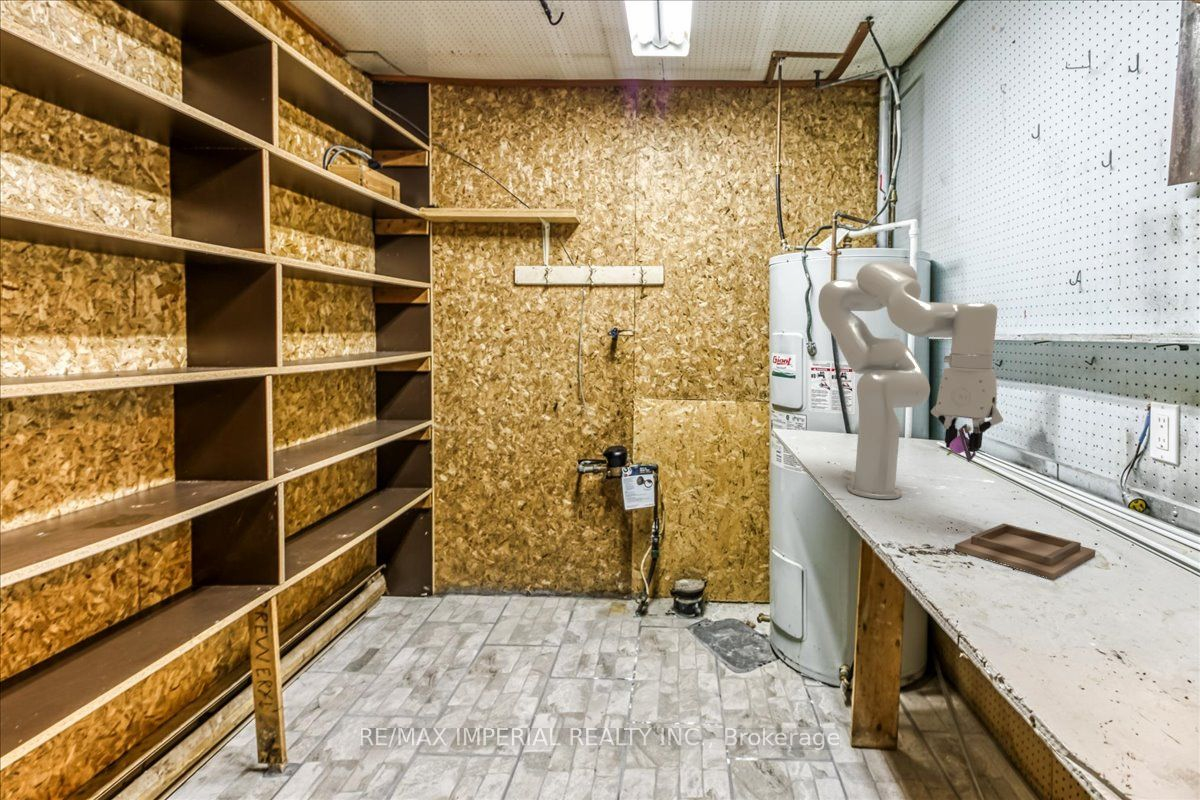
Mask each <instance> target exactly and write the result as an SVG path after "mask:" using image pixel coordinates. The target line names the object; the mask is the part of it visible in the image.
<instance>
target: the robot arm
mask: <svg viewBox="0 0 1200 800" xmlns="http://www.w3.org/2000/svg"><path fill="white" fill-rule="evenodd" d="M855 278H856V279H852V278H851V279H846V278H843V279H835V280H832V281H829V282H827V283H825V284H824V285H823V286H822V288H821V289H820V290H819V294H818V302H817V303H818V311H819V315H820V318H821V320H822V322H823V323H824V325H825V326H826V328H827V329H828V331H829V332H830V333H831V335H832V336H833V338H834V340H835V341H836V343H837V345H838V347H839V349H840V351H841V353H842V355H843V357H844V359H845V361H846V362H847V365H848V366H849V368H850V369H851V370H852V372H854V373H856V374H859V375H862V376H861V377H860V378H859V380H858V381H857V385H856V394H857V403H858V404H857V405H858V429H857V442H856V443H857V445H856V459H855V470H854V471H852V470H848V469H845V470H844V471H843V474H842V475H841V478H842V479H845V480H850V482H849V484H848V485H847V490H848V491H849V492H850V493H851V494H854V495H856V496H859V497H863V498H864V497H865V498H869V499H878V500H895V499H898V498H901V497H902V490H900V489H901V488H900V489H899V488H897V487H896V481H897V479H896V478H897V470H898V469H897V467H898V457H899V456H898V455H899V444H900V429H901V428H900V426H901V425H900V422H899V419H898V416H897V413H895V410H894V409H897V408H914V407H915V408H916V407H920V406H922V405H924V404H925V403H926V402H927V400H928V399H929V397H930V393H931V386H930V383H929V379H928V377H927V375H926V374H925V371H924V370H923V368H922V366H921V365H920V364H919V362H918V361H917V359H916V357H915V355H914V354H913V352H912V350H911V349H910V348H909V346H908V345H907V344H905V343H904V342H903V341H901V340H899V339H895V338H879V337H875V336H874V335H873V334H872V332H871V331H870V329H869V328H868V326H867V324H866V323H865V322H864V321H863V320H862V319H861V318H860V317H859V316H858V315H856V314H855V313H854V312H875V311H879V310H881V309H883V308H886V312H887V316H888V318H889V320H890V321H891V322H892V324H894V325H895V326H897V327H898V328H899V329H901V330H902V331H904V332H905V333H907V334H909V335H910V336H914V337H917V338H942V339H944V338H947V339H948V338H949V339H950V338H951V348H950V353H949V355H948V356H947V355H946V356H945V355H944V357H943V362H944V363H948V366H949V368H948V367H946V368H944V369H943V373H942V376H941V380H940V383H939V387H938V393H937V398H936V404H935V405H934V406H933V408H932V409H931V410H930V414H932V415H933V416H934V417H936V418H937V419H938V421H939V422H940V423H941V424H942V426H943V429H944V430H945V433H944V434H945V435H944V443H945V448H947V449H950V448H949V445H950V443H951V442H952V440H953V439H955V438H956V437H958V433H959V429H958V428H957V427H956V425H957V423H958V419H959V418H962V419H963V418H964V419H972V420H971V421H972V432H971V433H970V441H969V450H970V453H973V452H975V453H976V452H979V451H980V449H981V448H982V443H983V435H984V433H985V432H986V431H987V430H989V429H990V428H992V427H993V426H996V425H998V424H1000V423H1003V422H1004V418H1003V416H1002V415H1001V413H1000V411H999V409H998V408H997V400H998V397H997V394H998V391H997V389H998V387H997V379H996V377H997V376H996V372H995V370H992V368H993V359H994V358H993V357H994V348H995V341H996V339H995V338H996V328H997V318H998V308H997V306H996V305H995V304H993V303H989V302H988V303H986V302H966V303H958V302H955V303H954V302H936V301H935V302H932V301H931V302H929V301H928V302H927V301H922V300H919V299H920V297H921V294H922V293H921V292H922V287H921V284H920V283H919V281H918V274H917V272H916V270H915V268H914V267H913V266H912V265H910V264H909V263H906V262H899V261H898V262H895V261H873V262H869V263H866V264H864V265H863V266H861V268H859V270H858V272H857V273H856V277H855ZM989 418H991V419H989ZM985 419H988V420H987V421H986V420H985Z"/></svg>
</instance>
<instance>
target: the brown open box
mask: <svg viewBox="0 0 1200 800" xmlns="http://www.w3.org/2000/svg"><path fill="white" fill-rule="evenodd" d="M1081 544H1082V543H1081V542H1078V541H1075V540H1071V539H1067V538H1063V537H1060V536H1059V537H1058V536H1055V535H1052V534H1051V535H1050V534H1048V533H1043V532H1040V531H1036V530H1032V529H1027V528H1024V527H1019V526H1015V525H1012V524H1008V523H1001V524H998V525H996V526H994V527H991V528H989V529H986V530H984V531H980V532H979V533H975V534H973V535H971V537H970V538H967V539H964V540H962V541H960V542H957V543H955V544H954V551H956V552H959V553H962V554H965V553H966V555H968V554H970V555H969V556H972V555H973V557H975V556H977V557H976V558H978V557H981V558H980V559H982V558H984V559H983V560H985V559H988V560H992V561H995V562H998V563H1002V564H1006V565H1009V566H1012V567H1015V568H1018V569H1022V570H1025V571H1028V572H1031V573H1034V574H1037V575H1040V576H1039V577H1041V576H1044V577H1047V578H1050V579H1054V578H1056V577H1057V578H1059V577H1061V576H1062V575H1061V574H1063V573H1064V574H1066V573H1068V572H1070V571H1071V570H1073V569H1075V568H1076V566H1077V567H1078V566H1080V565H1081V564H1084V563H1086V562H1087V561H1088V560H1090V559H1092V558H1094V557H1096V549H1093V548H1089V547H1085V546H1081ZM988 560H987V561H988ZM995 562H994V563H995ZM998 563H997V564H998ZM1074 567H1075V568H1074ZM1072 568H1073V569H1072ZM1018 569H1017V570H1018ZM1069 570H1070V571H1069ZM1067 571H1068V572H1067ZM1065 572H1066V573H1065ZM1031 573H1030V574H1031ZM1034 574H1033V575H1034ZM1064 574H1063V575H1064ZM1037 575H1036V576H1037ZM1060 575H1061V576H1060ZM1058 576H1059V577H1058ZM1044 577H1043V578H1044ZM1047 578H1046V579H1047ZM1057 578H1056V579H1057ZM1050 579H1049V580H1050ZM1054 580H1055V579H1054Z"/></svg>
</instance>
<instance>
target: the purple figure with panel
mask: <svg viewBox="0 0 1200 800" xmlns="http://www.w3.org/2000/svg"><path fill="white" fill-rule="evenodd" d="M972 430H973V427H972V426H970V425H968V424H967V423H965V424H963V426H961V427H960V428H959V429H958V433H959V435H957V437H956V438H955V439H953V440H952V442H951V443H950V445H949V448H948V449H949V450H950V451H948V452H947V453H946V456H950V455H951V454H953V453H954V454H961V453H965V457H966V460H967V463H970V462H971V461H972V460H973V459H974V458H975V456H976V455H977V453H976V452H970V450H969V441H970V434H971V433H970V432H971V431H972ZM966 435H967V436H966ZM971 453H972V454H971Z"/></svg>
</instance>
